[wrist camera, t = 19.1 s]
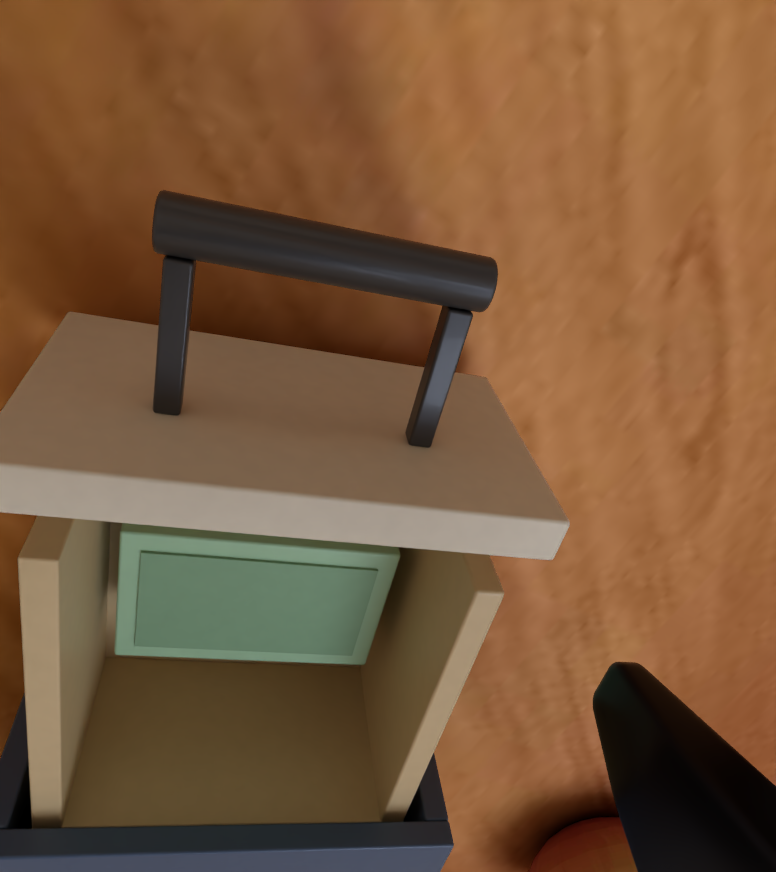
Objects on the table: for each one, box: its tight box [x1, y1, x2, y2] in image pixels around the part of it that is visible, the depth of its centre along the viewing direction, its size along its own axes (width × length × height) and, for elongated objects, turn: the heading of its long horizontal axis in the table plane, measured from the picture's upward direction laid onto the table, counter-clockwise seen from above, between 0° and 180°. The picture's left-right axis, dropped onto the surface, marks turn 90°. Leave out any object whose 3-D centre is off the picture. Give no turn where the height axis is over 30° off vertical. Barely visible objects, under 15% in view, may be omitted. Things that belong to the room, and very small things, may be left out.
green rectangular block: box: [114, 523, 400, 665], centre depth 21 cm, size 5×8×3 cm, turn 76°
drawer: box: [0, 190, 570, 829], centre depth 19 cm, size 18×12×7 cm
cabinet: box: [0, 692, 454, 872], centre depth 26 cm, size 15×14×9 cm
